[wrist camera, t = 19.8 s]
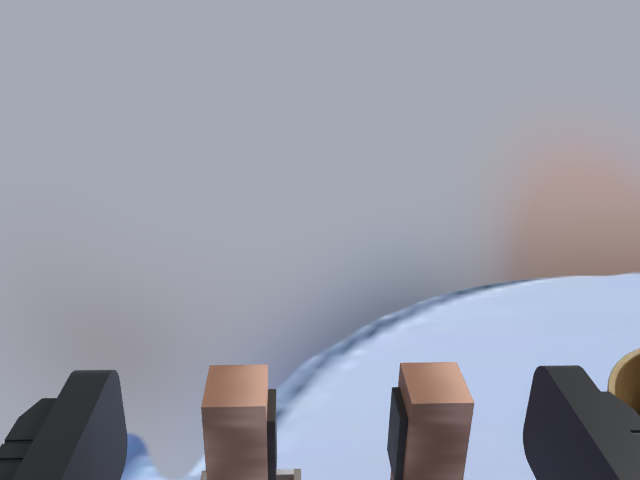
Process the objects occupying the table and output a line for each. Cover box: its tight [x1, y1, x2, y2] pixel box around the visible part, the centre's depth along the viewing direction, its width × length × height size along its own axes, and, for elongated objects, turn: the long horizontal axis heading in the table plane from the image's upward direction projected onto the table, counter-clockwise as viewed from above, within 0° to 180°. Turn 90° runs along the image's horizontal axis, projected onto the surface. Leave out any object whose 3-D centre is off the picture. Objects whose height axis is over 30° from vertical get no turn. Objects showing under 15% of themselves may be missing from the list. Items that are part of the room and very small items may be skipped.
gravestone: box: [201, 362, 474, 480], centre depth 39 cm, size 21×7×14 cm, turn 93°
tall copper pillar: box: [201, 365, 277, 480], centre depth 38 cm, size 4×4×12 cm
